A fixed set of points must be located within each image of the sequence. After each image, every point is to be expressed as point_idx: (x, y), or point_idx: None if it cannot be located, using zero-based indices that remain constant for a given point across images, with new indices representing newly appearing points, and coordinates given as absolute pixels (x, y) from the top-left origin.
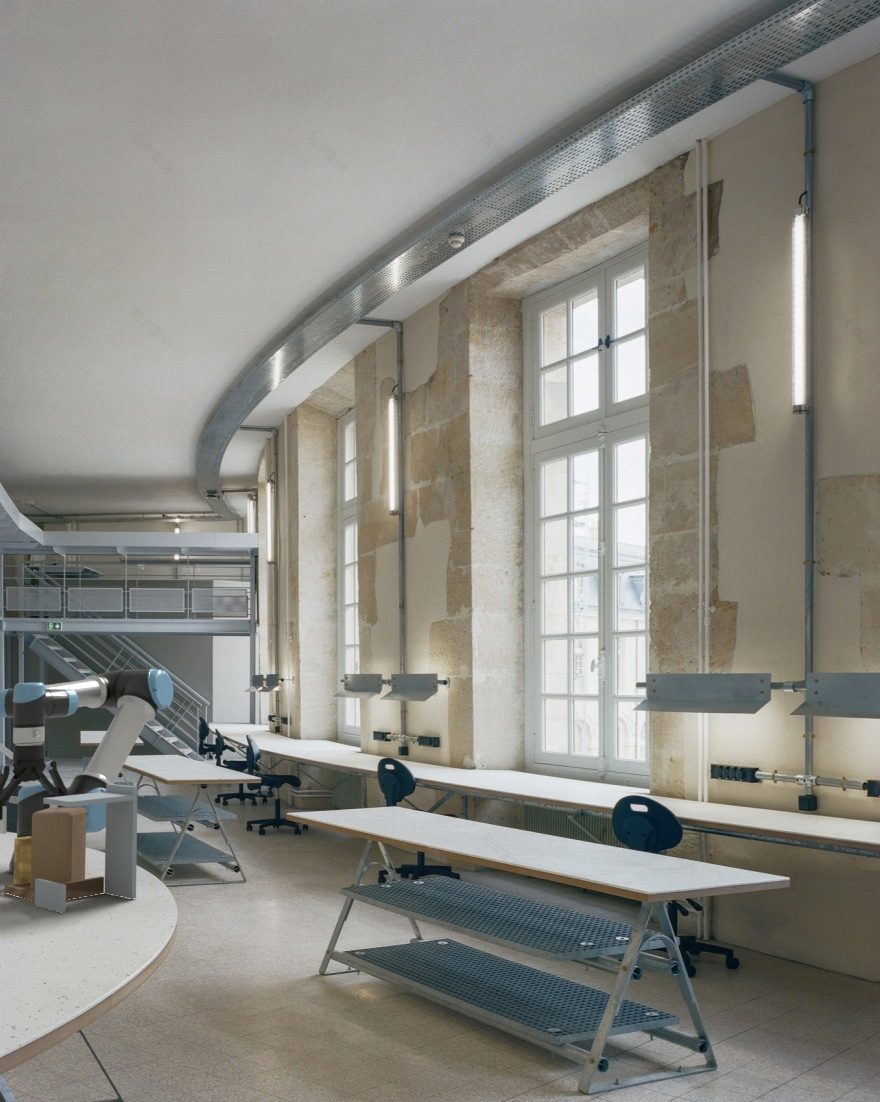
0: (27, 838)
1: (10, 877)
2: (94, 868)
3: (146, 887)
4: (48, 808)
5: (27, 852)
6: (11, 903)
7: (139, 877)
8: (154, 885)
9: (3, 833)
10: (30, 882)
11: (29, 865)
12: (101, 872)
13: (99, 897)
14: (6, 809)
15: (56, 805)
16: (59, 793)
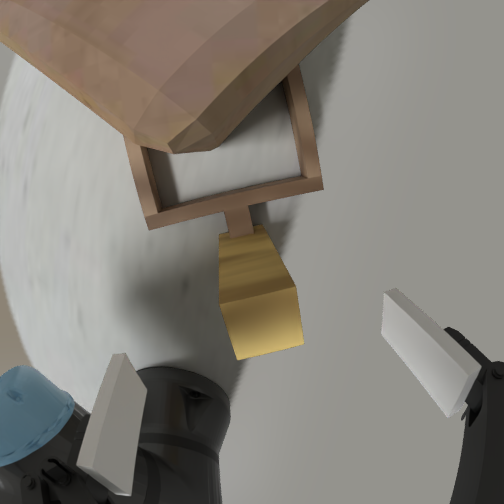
0: (264, 311)
1: (239, 374)
2: (74, 360)
3: (23, 72)
4: (232, 6)
5: (260, 267)
6: (334, 61)
7: (2, 202)
8: (7, 88)
9: (396, 289)
10: (251, 190)
11: (245, 250)
12: (59, 313)
13: None
14: (457, 365)
15: (91, 437)
16: (60, 497)
